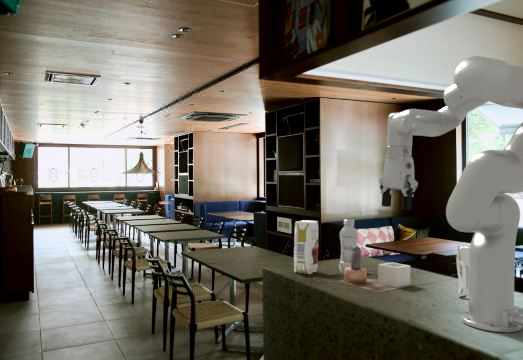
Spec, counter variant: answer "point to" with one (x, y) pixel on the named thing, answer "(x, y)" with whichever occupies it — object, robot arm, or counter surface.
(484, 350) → the counter surface
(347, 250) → the plastic bottle
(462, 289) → the beer glass
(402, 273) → the hollow square frame
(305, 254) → the juice carton
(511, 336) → the counter surface
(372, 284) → the post board
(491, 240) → the robot arm
